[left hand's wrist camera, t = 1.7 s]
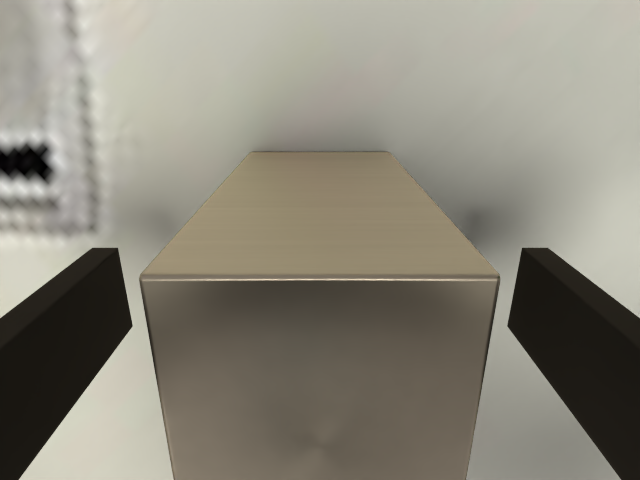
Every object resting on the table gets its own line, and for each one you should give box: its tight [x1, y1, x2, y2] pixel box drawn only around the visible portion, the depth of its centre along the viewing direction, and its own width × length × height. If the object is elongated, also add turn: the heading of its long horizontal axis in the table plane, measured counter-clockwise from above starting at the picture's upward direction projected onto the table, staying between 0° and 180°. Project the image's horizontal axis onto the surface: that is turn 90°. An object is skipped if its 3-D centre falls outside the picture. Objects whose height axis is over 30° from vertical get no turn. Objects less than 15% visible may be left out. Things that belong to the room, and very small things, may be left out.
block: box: [139, 152, 500, 480], centre depth 13 cm, size 7×6×11 cm
